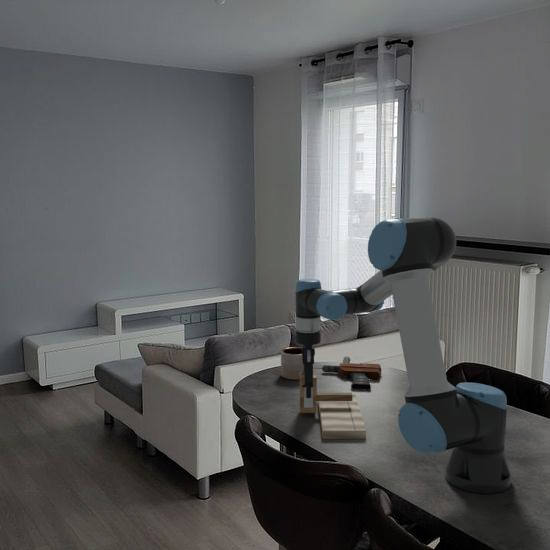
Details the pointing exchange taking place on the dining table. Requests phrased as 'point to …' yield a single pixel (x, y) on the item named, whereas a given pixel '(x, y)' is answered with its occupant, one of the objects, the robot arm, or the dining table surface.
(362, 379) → the tool
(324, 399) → the brown block with tab
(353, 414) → the board
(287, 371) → the planter
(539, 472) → the dining table surface
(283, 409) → the dining table surface
